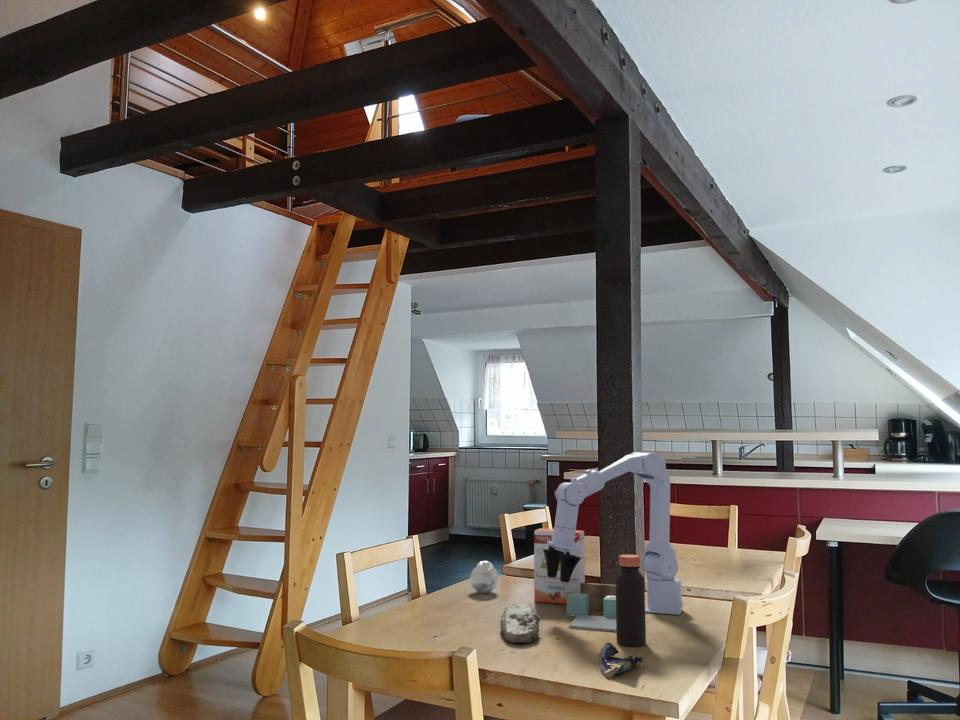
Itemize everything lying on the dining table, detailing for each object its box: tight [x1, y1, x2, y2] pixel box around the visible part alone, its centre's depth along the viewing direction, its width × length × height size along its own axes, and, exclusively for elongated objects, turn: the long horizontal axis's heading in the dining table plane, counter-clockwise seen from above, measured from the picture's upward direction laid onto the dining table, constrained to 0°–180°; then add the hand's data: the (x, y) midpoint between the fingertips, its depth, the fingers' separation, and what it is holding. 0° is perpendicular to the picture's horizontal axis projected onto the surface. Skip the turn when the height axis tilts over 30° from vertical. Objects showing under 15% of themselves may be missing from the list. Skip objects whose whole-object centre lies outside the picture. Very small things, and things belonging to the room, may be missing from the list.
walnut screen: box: [580, 582, 616, 612], centre depth 208 cm, size 13×4×7 cm, turn 70°
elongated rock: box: [499, 602, 541, 644], centre depth 189 cm, size 35×5×10 cm
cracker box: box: [533, 528, 586, 606], centre depth 218 cm, size 14×6×21 cm, turn 68°
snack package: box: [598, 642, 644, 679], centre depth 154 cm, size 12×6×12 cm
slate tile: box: [568, 615, 616, 633], centre depth 192 cm, size 12×12×1 cm
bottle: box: [614, 553, 647, 648], centre depth 175 cm, size 7×7×20 cm
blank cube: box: [566, 593, 590, 617], centre depth 204 cm, size 5×5×5 cm
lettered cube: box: [603, 596, 616, 618], centre depth 200 cm, size 5×5×5 cm
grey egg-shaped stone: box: [469, 560, 500, 594], centre depth 231 cm, size 9×10×10 cm
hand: (557, 579), depth 197 cm, fingers open, 7 cm apart
